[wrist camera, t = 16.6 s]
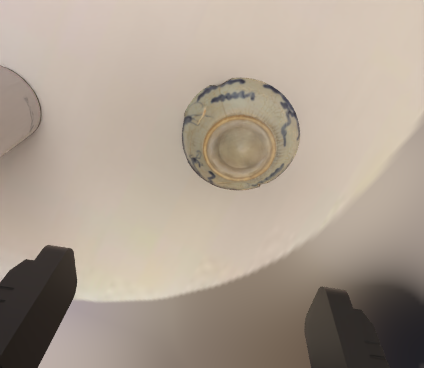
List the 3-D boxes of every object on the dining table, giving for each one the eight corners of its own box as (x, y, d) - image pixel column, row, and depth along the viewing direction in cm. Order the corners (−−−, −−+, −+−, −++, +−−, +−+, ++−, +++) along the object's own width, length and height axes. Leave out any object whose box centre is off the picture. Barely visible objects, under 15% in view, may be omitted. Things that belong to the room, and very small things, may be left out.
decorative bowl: (233, 46, 36) (155, 143, 42) (233, 53, 32) (149, 156, 39) (326, 131, 40) (243, 206, 47) (334, 144, 37) (244, 223, 43)
